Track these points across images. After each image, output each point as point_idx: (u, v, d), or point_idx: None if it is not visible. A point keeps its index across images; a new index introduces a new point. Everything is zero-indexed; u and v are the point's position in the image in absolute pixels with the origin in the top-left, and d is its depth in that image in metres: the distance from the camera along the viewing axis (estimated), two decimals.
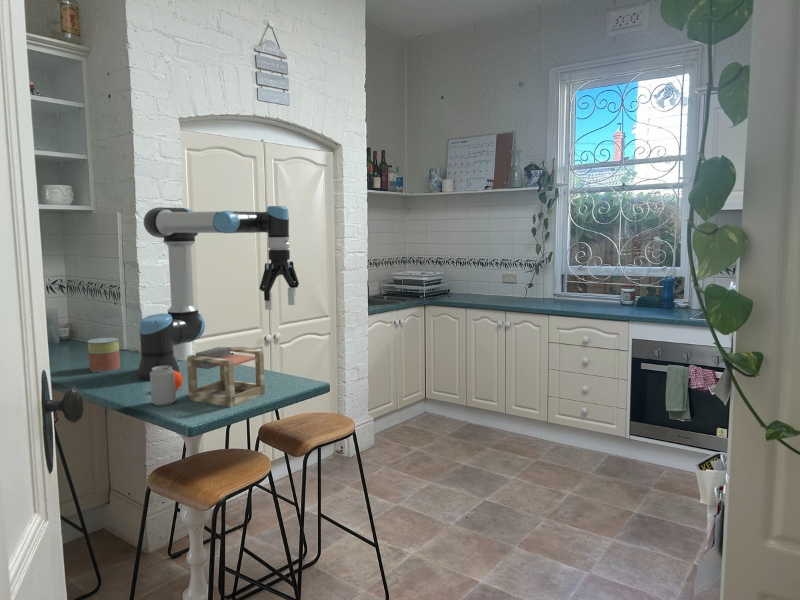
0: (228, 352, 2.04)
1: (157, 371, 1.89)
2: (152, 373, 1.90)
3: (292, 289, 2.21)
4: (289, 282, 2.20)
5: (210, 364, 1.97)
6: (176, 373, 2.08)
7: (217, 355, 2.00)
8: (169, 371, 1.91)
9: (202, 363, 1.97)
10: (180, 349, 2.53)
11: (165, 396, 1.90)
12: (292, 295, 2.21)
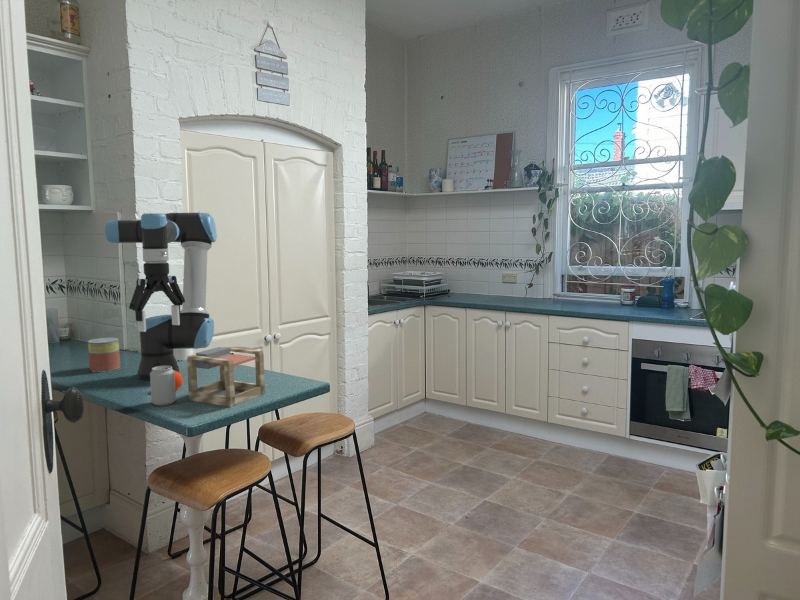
0: (228, 352, 2.04)
1: (157, 371, 1.89)
2: (152, 373, 1.90)
3: (175, 307, 1.95)
4: (172, 299, 1.95)
5: (210, 364, 1.97)
6: (176, 373, 2.08)
7: (217, 355, 2.00)
8: (169, 371, 1.91)
9: (202, 363, 1.97)
10: (180, 349, 2.53)
11: (165, 396, 1.90)
12: (176, 314, 1.96)
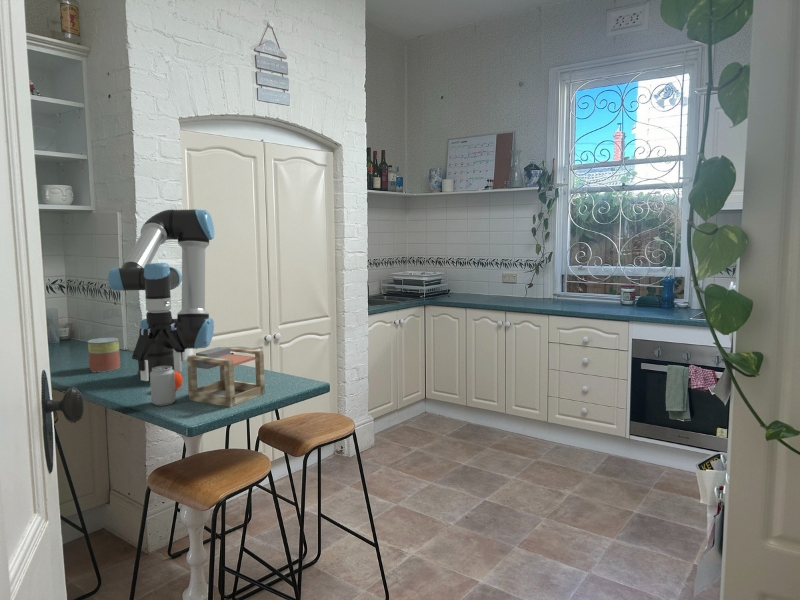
0: (228, 352, 2.04)
1: (157, 371, 1.89)
2: (152, 373, 1.90)
3: (178, 354, 1.97)
4: (174, 346, 1.96)
5: (210, 364, 1.97)
6: (176, 373, 2.08)
7: (217, 355, 2.00)
8: (169, 371, 1.91)
9: (202, 363, 1.97)
10: None
11: (165, 396, 1.90)
12: (178, 361, 1.97)
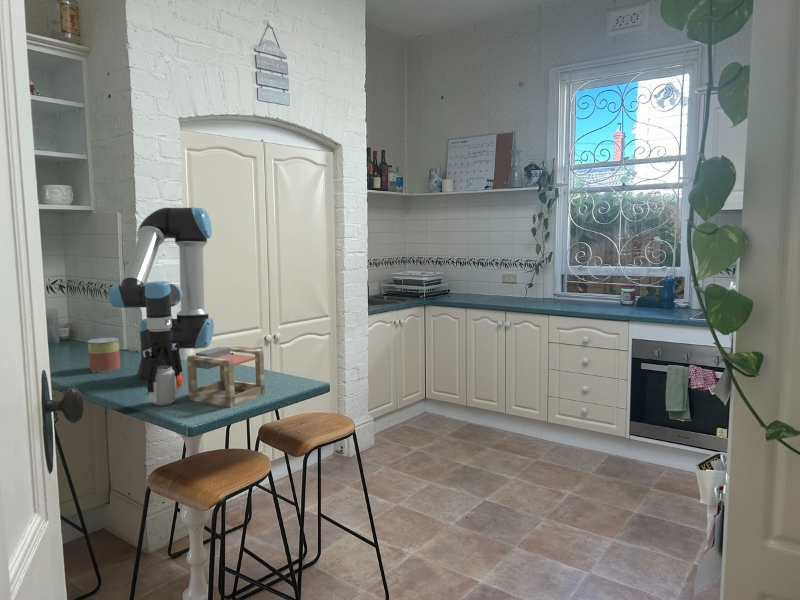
0: (228, 352, 2.04)
1: (157, 371, 1.89)
2: None
3: None
4: None
5: (210, 364, 1.97)
6: None
7: (217, 355, 2.00)
8: (169, 371, 1.91)
9: (202, 363, 1.97)
10: (180, 349, 2.53)
11: (165, 396, 1.90)
12: None
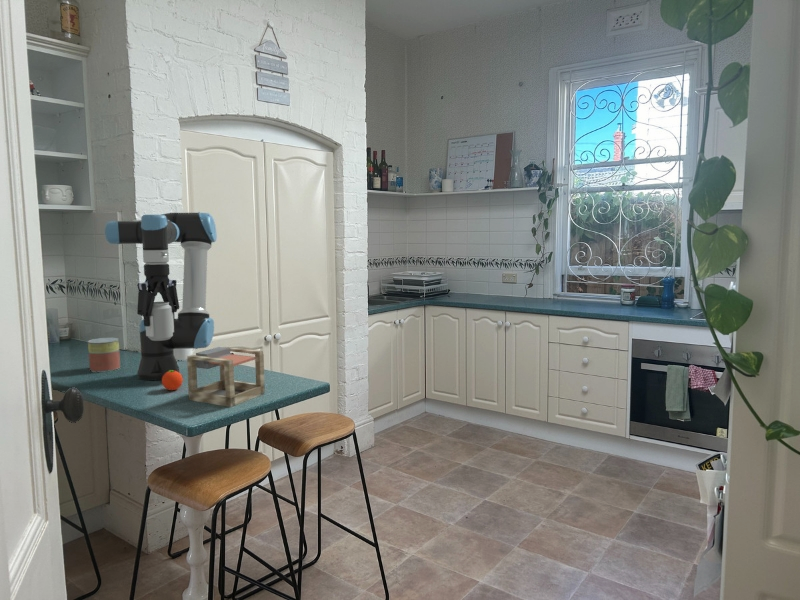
0: (228, 352, 2.04)
1: (154, 305, 1.87)
2: None
3: None
4: None
5: (210, 364, 1.97)
6: (176, 373, 2.08)
7: (217, 355, 2.00)
8: (166, 306, 1.89)
9: (202, 363, 1.97)
10: (180, 349, 2.53)
11: (161, 330, 1.88)
12: None
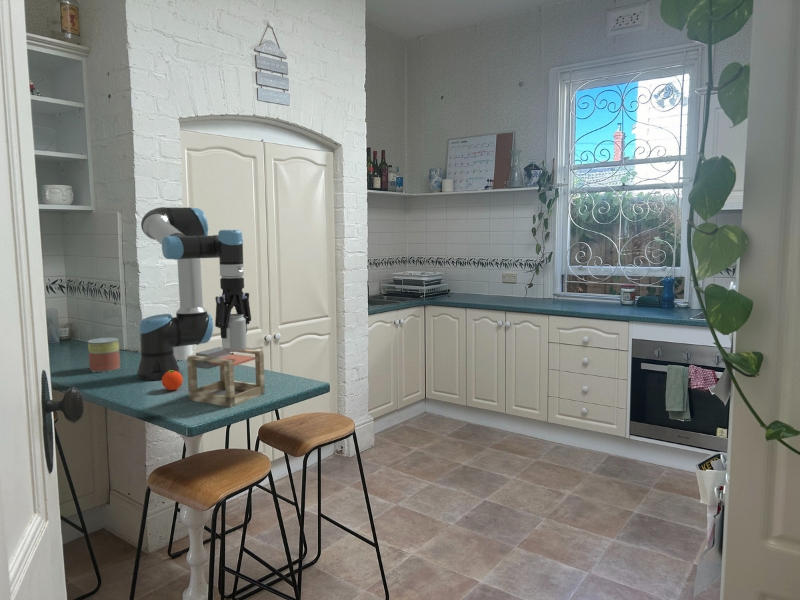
0: (228, 352, 2.04)
1: (230, 318, 1.92)
2: None
3: None
4: None
5: (210, 364, 1.97)
6: (176, 373, 2.08)
7: (217, 355, 2.00)
8: (241, 318, 1.94)
9: (202, 363, 1.97)
10: (180, 349, 2.53)
11: (237, 342, 1.93)
12: None
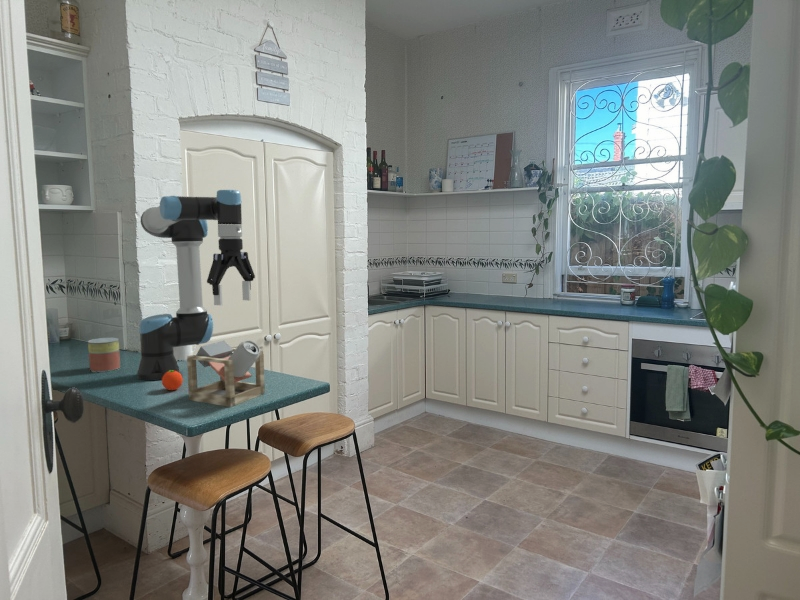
0: (230, 353, 2.04)
1: (247, 352, 1.91)
2: (242, 350, 1.91)
3: (247, 283, 2.00)
4: (243, 275, 1.99)
5: (208, 363, 1.97)
6: (176, 373, 2.08)
7: (219, 356, 1.99)
8: (256, 355, 1.93)
9: None
10: (180, 349, 2.53)
11: (240, 372, 1.94)
12: (247, 289, 2.00)
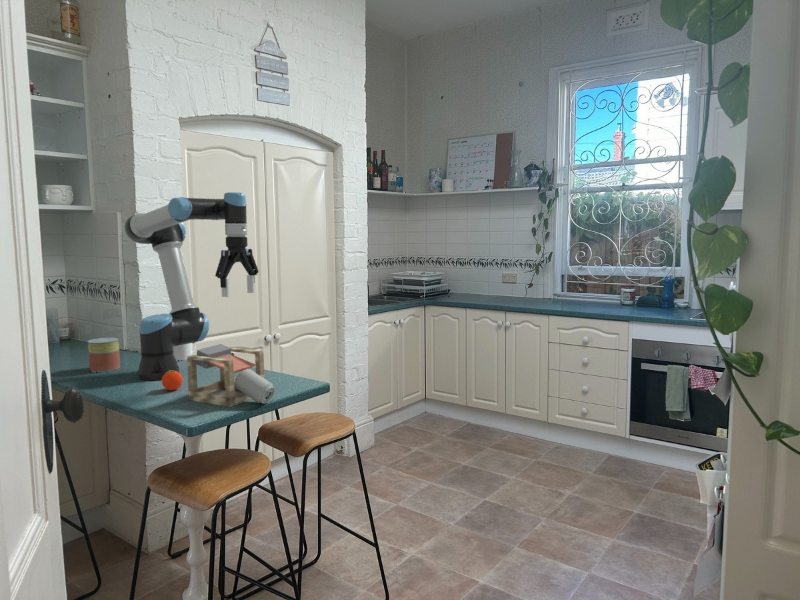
0: (229, 352, 2.04)
1: (261, 401, 1.90)
2: (259, 396, 1.89)
3: (251, 277, 2.19)
4: (248, 270, 2.19)
5: (209, 364, 1.97)
6: (176, 373, 2.08)
7: (218, 355, 1.99)
8: None
9: (202, 361, 1.97)
10: (180, 349, 2.53)
11: None
12: (251, 283, 2.20)
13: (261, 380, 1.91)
